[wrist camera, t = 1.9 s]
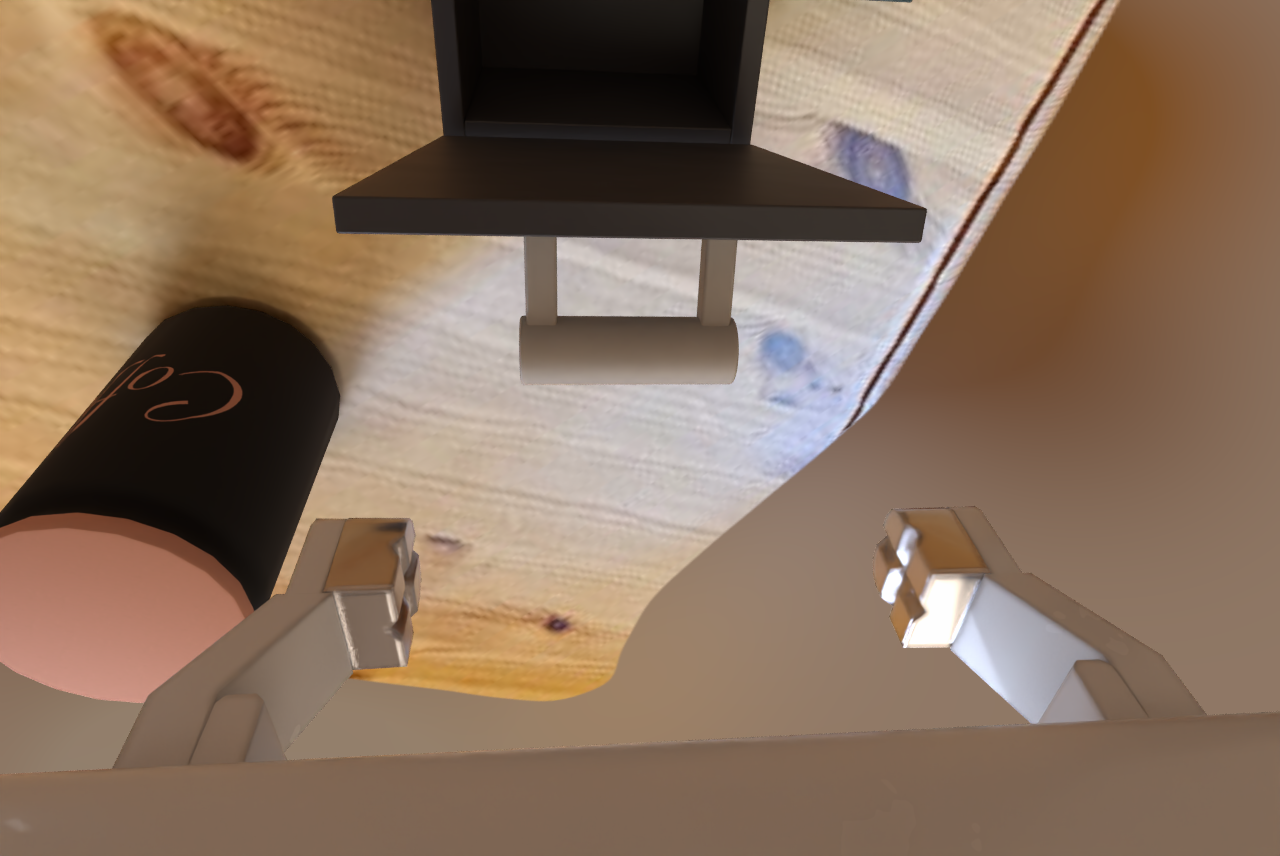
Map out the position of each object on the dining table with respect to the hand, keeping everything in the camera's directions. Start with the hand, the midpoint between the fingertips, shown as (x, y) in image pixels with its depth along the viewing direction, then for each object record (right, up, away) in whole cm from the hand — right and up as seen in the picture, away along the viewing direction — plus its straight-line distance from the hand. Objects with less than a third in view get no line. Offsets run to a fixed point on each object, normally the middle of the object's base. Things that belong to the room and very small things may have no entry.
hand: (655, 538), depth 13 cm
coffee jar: (-23, +5, +32) cm, 40 cm away
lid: (-1, +9, +9) cm, 13 cm away
